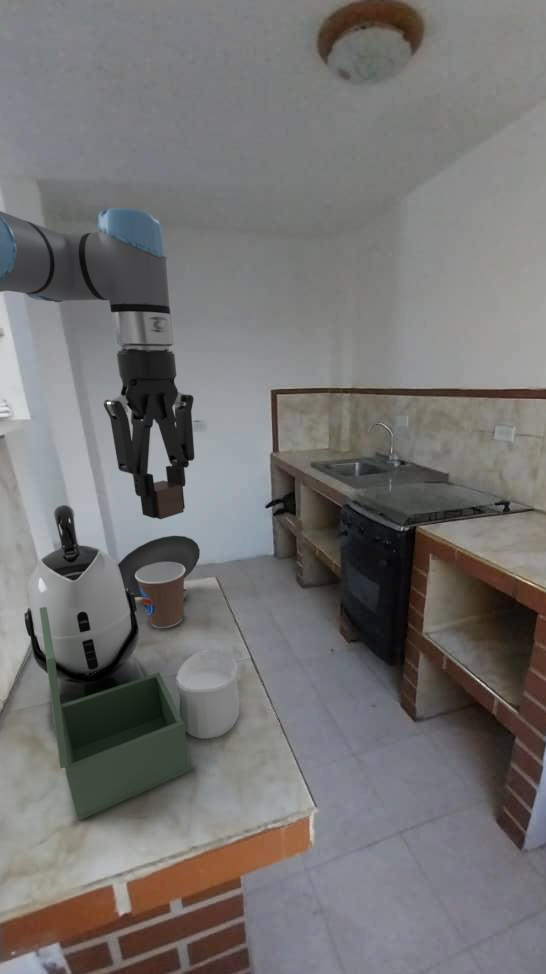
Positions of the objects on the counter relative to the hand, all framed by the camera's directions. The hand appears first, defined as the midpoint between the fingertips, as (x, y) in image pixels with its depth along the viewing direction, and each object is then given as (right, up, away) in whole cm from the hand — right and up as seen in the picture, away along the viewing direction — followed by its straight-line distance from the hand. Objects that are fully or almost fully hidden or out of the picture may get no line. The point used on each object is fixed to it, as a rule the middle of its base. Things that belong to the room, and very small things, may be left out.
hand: (164, 511), depth 71 cm
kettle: (-14, -31, +9) cm, 36 cm away
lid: (-9, -22, -14) cm, 28 cm away
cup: (+7, -34, +4) cm, 35 cm away
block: (0, 0, 0) cm, 0 cm away
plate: (-11, -12, +34) cm, 38 cm away
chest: (-4, -37, -4) cm, 37 cm away
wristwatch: (-11, -18, +40) cm, 45 cm away
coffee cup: (-9, -22, +31) cm, 39 cm away
